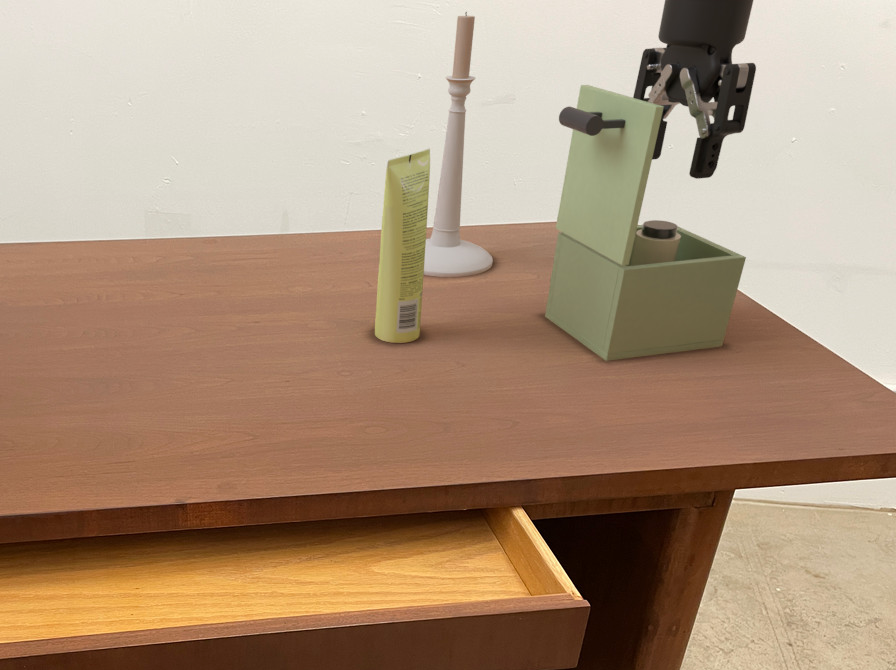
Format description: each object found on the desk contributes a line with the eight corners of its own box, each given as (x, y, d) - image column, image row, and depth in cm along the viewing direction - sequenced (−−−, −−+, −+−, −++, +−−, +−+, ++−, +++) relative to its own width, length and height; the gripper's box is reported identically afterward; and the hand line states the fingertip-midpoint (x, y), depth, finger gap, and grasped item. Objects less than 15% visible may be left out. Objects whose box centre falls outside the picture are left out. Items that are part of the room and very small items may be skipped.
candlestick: (501, 277, 118) (535, 15, 102) (401, 278, 118) (419, 17, 103) (481, 246, 129) (509, 6, 113) (389, 247, 129) (404, 7, 113)
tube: (371, 326, 105) (381, 147, 95) (416, 325, 105) (430, 146, 95) (376, 345, 100) (387, 160, 90) (423, 345, 100) (439, 159, 90)
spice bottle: (645, 314, 104) (666, 217, 99) (668, 329, 101) (692, 228, 95) (610, 318, 103) (629, 220, 98) (632, 333, 100) (654, 232, 94)
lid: (587, 84, 93) (542, 86, 92) (664, 106, 83) (614, 108, 82) (561, 228, 101) (520, 231, 100) (628, 265, 90) (583, 268, 89)
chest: (650, 305, 109) (669, 222, 104) (721, 347, 98) (746, 257, 93) (544, 317, 106) (558, 232, 101) (605, 362, 96) (624, 269, 91)
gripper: (803, -11, 80) (753, 181, 88) (698, -20, 91) (663, 150, 100) (727, -8, 78) (684, 187, 87) (630, -17, 90) (601, 155, 98)
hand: (673, 167), depth 93 cm, fingers open, 8 cm apart
